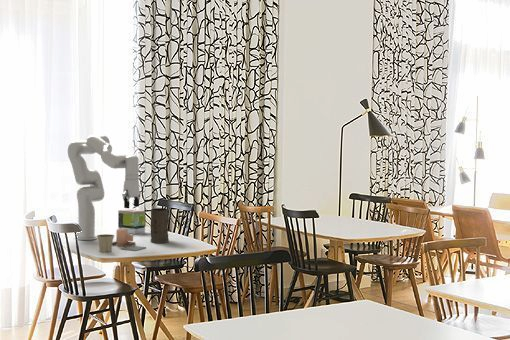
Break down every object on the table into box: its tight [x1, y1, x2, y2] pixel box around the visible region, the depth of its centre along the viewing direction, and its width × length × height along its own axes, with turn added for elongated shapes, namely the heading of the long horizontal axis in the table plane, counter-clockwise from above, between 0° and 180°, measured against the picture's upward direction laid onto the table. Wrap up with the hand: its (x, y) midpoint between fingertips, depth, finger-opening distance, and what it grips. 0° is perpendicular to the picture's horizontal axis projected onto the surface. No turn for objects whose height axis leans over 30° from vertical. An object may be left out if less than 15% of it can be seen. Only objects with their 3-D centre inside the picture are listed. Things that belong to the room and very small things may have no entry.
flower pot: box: [96, 233, 115, 253], centre depth 346 cm, size 9×9×9 cm
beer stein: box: [150, 207, 170, 244], centre depth 380 cm, size 15×11×20 cm
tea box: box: [117, 208, 146, 235], centre depth 413 cm, size 15×10×15 cm, turn 58°
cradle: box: [112, 241, 136, 248], centre depth 366 cm, size 11×10×2 cm
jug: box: [115, 228, 134, 247], centre depth 365 cm, size 10×6×9 cm, turn 66°
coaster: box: [120, 245, 147, 252], centre depth 355 cm, size 10×10×1 cm
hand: (131, 207), depth 365 cm, fingers open, 9 cm apart
